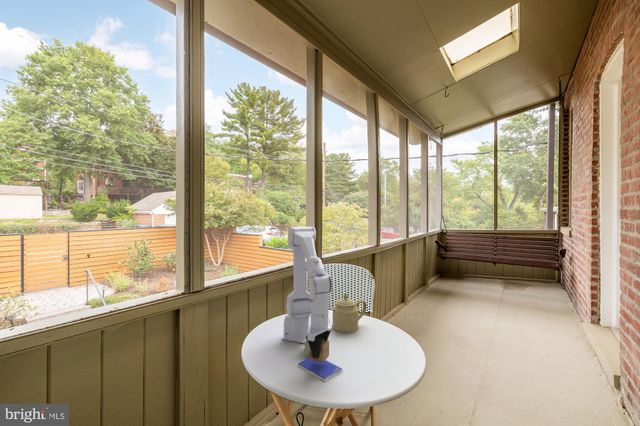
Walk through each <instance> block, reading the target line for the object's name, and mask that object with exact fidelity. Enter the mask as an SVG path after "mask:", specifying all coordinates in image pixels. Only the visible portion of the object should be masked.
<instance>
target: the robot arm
mask: <svg viewBox="0 0 640 426" xmlns="http://www.w3.org/2000/svg"><path fill="white" fill-rule="evenodd" d="M287 231H288V232H287V245H288V248H289V249H292V262H293V263H292V265H293V268H292V270H293V271H292V272H293V290H292V291H291V292H290V293H289V294H288V295H287V297H286V304H285V307H286V315H285V316H284V319H283V337H282V340H286V341H290V342H296V343H300V344H301V343H302V344H305V339H306V340H307V341H308V343H309V346H310V349H311V353H312V357H314V358H319V356H320V350H321V345H322V342H323V340H327V341H329V337H330V334H331V333H332V330H333V329H332V328H333V326H330V324H331V318H330V317H329V307H330V305H329V302H330V301H329V298H330V293H331V292H332V290H333V283H332V281H333V280H332V278H331V275H329V274H328V272H326V271H325V266H324V265H323V261H322V259H321V258H320V257H318V256H317V252H316V247H315V242H316V239H317V231H316V228H315V227H314V226H290V227H289V228H288V230H287ZM306 273H307V277H308V279H309V280H308V290H309V291H308V290H307V284H306V283H307V278H306Z"/></svg>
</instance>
